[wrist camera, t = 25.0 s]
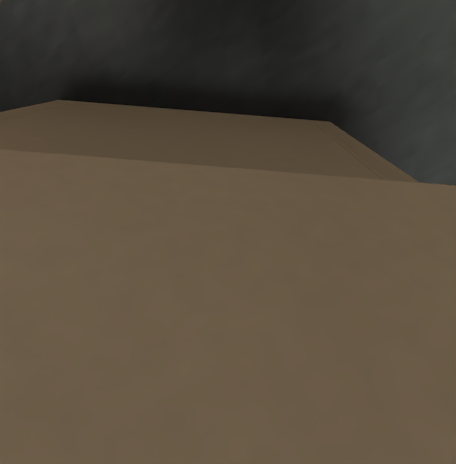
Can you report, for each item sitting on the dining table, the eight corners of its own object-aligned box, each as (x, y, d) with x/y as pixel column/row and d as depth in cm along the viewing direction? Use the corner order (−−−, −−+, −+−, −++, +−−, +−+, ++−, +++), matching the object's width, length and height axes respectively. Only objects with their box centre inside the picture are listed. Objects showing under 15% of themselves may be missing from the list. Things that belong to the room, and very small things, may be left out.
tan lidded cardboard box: (286, 366, 22) (319, 580, 13) (83, 350, 22) (-26, 553, 13) (330, 121, 16) (443, 196, 7) (57, 99, 16) (-172, 146, 7)
